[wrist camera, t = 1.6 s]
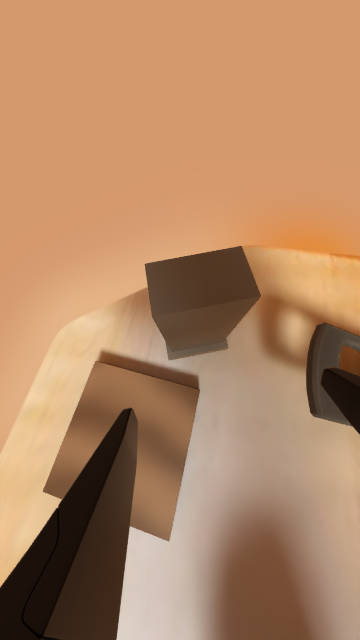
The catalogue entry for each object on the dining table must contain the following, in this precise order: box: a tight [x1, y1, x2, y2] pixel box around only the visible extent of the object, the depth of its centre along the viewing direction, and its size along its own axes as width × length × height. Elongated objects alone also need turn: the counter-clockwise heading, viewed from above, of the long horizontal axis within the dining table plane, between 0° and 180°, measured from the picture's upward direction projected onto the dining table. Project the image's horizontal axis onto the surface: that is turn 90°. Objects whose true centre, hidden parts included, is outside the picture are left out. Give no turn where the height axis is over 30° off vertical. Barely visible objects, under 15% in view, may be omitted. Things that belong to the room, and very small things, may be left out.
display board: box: [43, 361, 200, 541], centre depth 18 cm, size 12×12×2 cm
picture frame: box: [145, 246, 261, 360], centre depth 16 cm, size 5×7×12 cm
